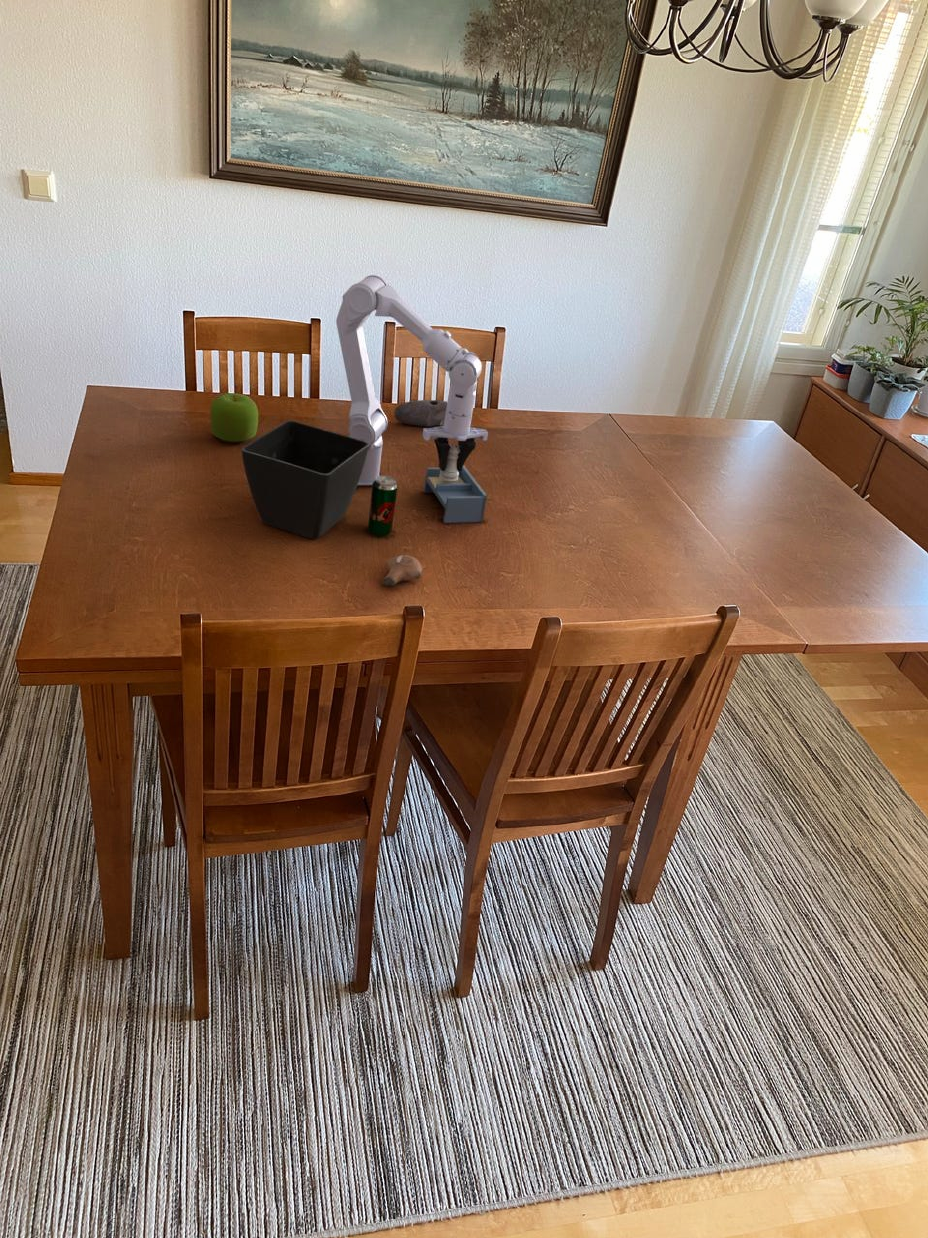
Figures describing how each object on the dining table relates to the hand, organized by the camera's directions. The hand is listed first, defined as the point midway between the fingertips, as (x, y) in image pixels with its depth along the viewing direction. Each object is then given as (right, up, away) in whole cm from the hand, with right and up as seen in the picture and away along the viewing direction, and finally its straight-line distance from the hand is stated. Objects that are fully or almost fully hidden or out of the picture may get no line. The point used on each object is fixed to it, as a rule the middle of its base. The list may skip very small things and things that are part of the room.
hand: (449, 468), depth 199 cm
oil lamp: (-9, -26, -27) cm, 39 cm away
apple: (-52, +9, +13) cm, 54 cm away
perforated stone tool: (-8, +18, +39) cm, 43 cm away
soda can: (-15, -16, -13) cm, 25 cm away
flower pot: (-30, -13, -14) cm, 36 cm away
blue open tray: (0, -8, +2) cm, 8 cm away
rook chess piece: (0, -2, +1) cm, 3 cm away
